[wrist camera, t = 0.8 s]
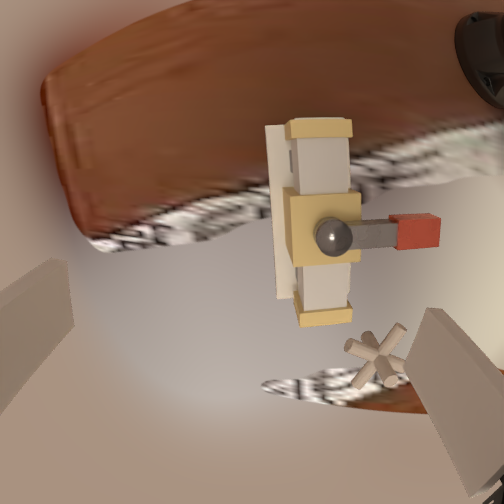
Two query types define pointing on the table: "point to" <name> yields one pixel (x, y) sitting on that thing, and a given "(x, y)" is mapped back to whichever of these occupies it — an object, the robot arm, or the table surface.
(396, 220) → the valve lever
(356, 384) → the pipe connector
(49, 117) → the table surface
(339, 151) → the valve base
